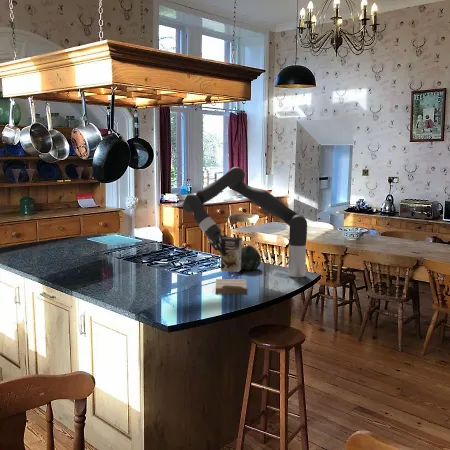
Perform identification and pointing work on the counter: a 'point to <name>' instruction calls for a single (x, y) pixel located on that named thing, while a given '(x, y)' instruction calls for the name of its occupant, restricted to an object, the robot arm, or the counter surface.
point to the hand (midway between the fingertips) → (229, 253)
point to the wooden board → (231, 286)
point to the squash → (250, 258)
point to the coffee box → (231, 254)
